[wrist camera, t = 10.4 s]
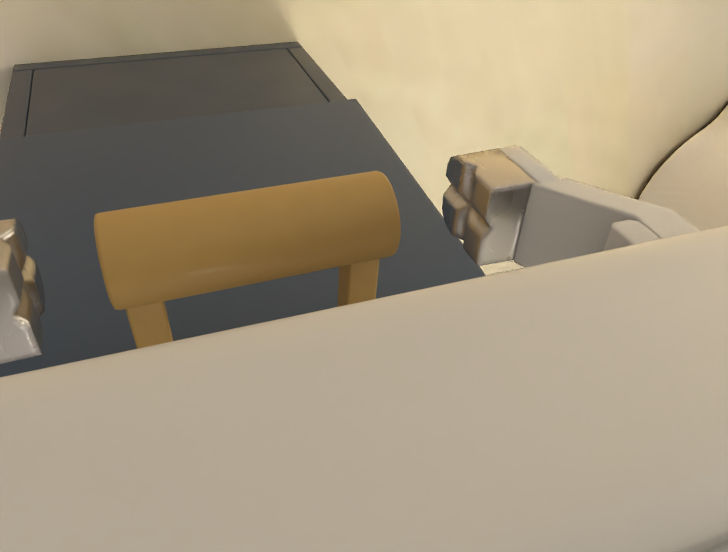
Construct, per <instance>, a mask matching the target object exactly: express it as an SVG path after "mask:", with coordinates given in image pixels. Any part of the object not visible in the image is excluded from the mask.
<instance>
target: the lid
mask: <svg viewBox="0 0 728 552" xmlns="http://www.w3.org/2000/svg"><path fill="white" fill-rule="evenodd" d="M15 218H17V219H18V221H19V222H20V223H21V225H22V227H23V229H24V232H25V234H26V237H27V239H28V243H27V252H26V255H28V256H29V257H31V258H32V259H34V260H36V263H37V265H38V268H39V271H40V274H41V278H42V282H43V286H44V294H45V312H44V313H43V314H42V315H41V316H40V317H39V318H40V320H41V323H42V326H43V328H44V330H43V342H42V355H38V356H33V357H29V358H24V359H20V360H16V361H11V362H7V363H2V364H0V377H5V376H10V375H14V374H19V373H24V372H29V371H33V370H38V369H43V368H48V367H53V366H57V365H62V364H67V363H72V362H76V361H81V360H86V359H91V358H96V357H100V356H105V355H110V354H115V353H120V352H124V351H129V350H134V349H139V348H143V347H148V346H153V345H158V344H163V343H167V342H172V341H177V340H182V339H186V338H191V337H196V336H201V335H206V334H210V333H215V332H220V331H225V330H229V329H234V328H239V327H244V326H249V325H253V324H258V323H263V322H268V321H272V320H277V319H282V318H287V317H292V316H296V315H301V314H306V313H311V312H315V311H320V310H325V309H330V308H335V307H339V306H344V305H349V304H354V303H358V302H363V301H368V300H373V299H378V298H382V297H387V296H392V295H397V294H401V293H406V292H411V291H416V290H420V289H425V288H430V287H435V286H440V285H444V284H449V283H454V282H459V281H463V280H468V279H473V278H478V277H483V276H486V275H485V274H484V272H483V271H482V269H481V268H480V267H479V266H477V265H476V263H475V262H474V261H473V260H472V258H471V257H470V256H469V255H468V254H467V252H466V251H465V250H464V249H463V244H462V242H461V241H460V240H459V238H457V237H455V236H453V235H452V234H451V232H450V231H449V230H448V228H447V226H446V224H445V221H444V218H443V217H442V215H441V214H440V213H439V211H438V210H437V208H436V207H435V206H434V204H433V203H432V202H431V200H430V199H429V198H428V196H427V195H426V194H425V192H424V191H423V189H422V188H421V187H420V185H419V184H418V183H417V181H416V180H415V179H414V177H413V176H412V175H411V173H410V172H409V170H408V169H407V168H406V166H405V165H404V164H403V162H402V161H401V160H400V158H399V157H398V156H397V154H396V153H395V151H394V150H393V149H392V147H391V146H390V145H389V143H388V142H387V141H386V139H385V138H384V137H383V135H382V134H381V132H380V131H379V130H378V128H377V127H376V126H375V124H374V123H373V122H372V120H371V119H370V118H369V116H368V115H367V113H366V112H365V111H364V109H363V108H362V107H361V105H360V104H359V103H358V101H357V100H356V99H350V100H341V101H332V102H323V103H314V104H305V105H297V106H288V107H279V108H270V109H261V110H253V111H244V112H235V113H226V114H217V115H209V116H200V117H191V118H182V119H173V120H165V121H156V122H147V123H138V124H129V125H121V126H112V127H103V128H94V129H85V130H77V131H68V132H59V133H50V134H41V135H32V136H24V137H15V138H6V139H0V220H8V219H15Z"/></svg>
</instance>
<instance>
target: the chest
mask: <svg viewBox="0 0 728 552" xmlns="http://www.w3.org/2000/svg"><path fill="white" fill-rule="evenodd" d="M341 100H347V99H346V98H345V96H344V95H343V94H342V93H341V92H340V91H339V89H338V88H337V87H336V86H335V85H334V84H333V82H332V81H331V80H330V79H329V78H328V77H327V75H326V74H325V73H324V72H323V71H322V70H321V68H320V67H319V66H318V65H317V64H316V63H315V61H314V60H313V59H312V58H311V57H310V55H309V54H308V53H307V52H306V51H305V50H304V48H302V46H301V45H300V44H299V43H298V42H289V43H277V44H265V45H252V46H240V47H228V48H216V49H204V50H191V51H179V52H167V53H155V54H143V55H130V56H118V57H106V58H94V59H82V60H69V61H57V62H45V63H33V64H20V65H14V68H13V73H12V78H11V83H10V88H9V93H8V98H7V103H6V108H5V113H4V118H3V123H2V128H1V133H0V139H6V138H15V137H24V136H32V135H41V134H50V133H59V132H68V131H77V130H85V129H94V128H103V127H112V126H121V125H129V124H138V123H147V122H156V121H165V120H173V119H182V118H191V117H200V116H209V115H217V114H226V113H235V112H244V111H253V110H261V109H270V108H279V107H288V106H297V105H305V104H314V103H323V102H332V101H341Z"/></svg>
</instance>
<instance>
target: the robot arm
mask: <svg viewBox="0 0 728 552" xmlns="http://www.w3.org/2000/svg"><path fill="white" fill-rule="evenodd" d="M446 176H447V178H448V179H449V181H450V183H451V185H450V186H449V188H448V189H447V190H446V192H445V193H444V194H443V205H442V210H443V217H444V221H445V224H446V226H447V228H448V230H449V231H450V232H451V234H452V235H453V236H455V237H457V238H460V239H462V240H464V243H463V249H464V250H465V251H466V252H467V254H468V255H469V256H470V257H471V258H472V260H473V261H474V262H475V263H476V265H477V266H481V265H487V264H492V263H498V262H504V261H509V260H514V262H516V263H518V264H519V265H521V266H523V267H525V268H521V269H516V270H511V271H506V272H502V273H497V274H492V275H487V276H483V277H478V278H473V279H468V280H463V281H459V282H454V283H449V284H444V285H440V286H435V287H430V288H425V289H420V290H416V291H411V292H406V293H401V294H397V295H392V296H387V297H382V298H378V299H373V300H368V301H363V302H358V303H354V304H349V305H344V306H339V307H335V308H330V309H325V310H320V311H315V312H311V313H306V314H301V315H296V316H292V317H287V318H282V319H277V320H272V321H268V322H263V323H258V324H253V325H249V326H244V327H239V328H234V329H229V330H225V331H220V332H215V333H210V334H206V335H201V336H196V337H191V338H186V339H182V340H177V341H172V342H167V343H163V344H158V345H153V346H148V347H143V348H139V349H134V350H129V351H124V352H120V353H115V354H110V355H105V356H100V357H96V358H91V359H86V360H81V361H76V362H72V363H67V364H62V365H57V366H53V367H48V368H43V369H38V370H33V371H29V372H24V373H19V374H14V375H10V376H5V377H0V552H728V105H727V107H726V108H725V109H724V110H723V111H722V112H721V114H720V115H719V116H718V117H717V118H716V119H715V120H714V121H713V122H712V123H710V124H709V125H708V126H707V127H705V128H704V129H702V130H701V131H700V132H698V133H697V134H696V135H694V136H693V137H692V138H690V139H689V140H688V141H686V142H685V143H684V144H683V145H682V146H681V147H679V148H678V149H677V150H676V151H675V152H674V153H673V154H672V155H671V156H670V157H669V158H668V159H667V160H666V161H665V162H664V164H663V165H662V166H661V167H660V168H659V169H658V171H657V172H656V173H655V174H654V176H653V177H652V178H651V180H650V181H649V183H648V184H647V186H646V187H645V189H644V190H643V192H642V194H641V195H640V197H639V199H638V200H637V199H634V198H630V197H627V196H624V195H620V194H617V193H614V192H610V191H607V190H604V189H600V188H597V187H594V186H590V185H587V184H584V183H580V182H577V181H574V180H570V179H567V178H565V179H559V178H558V177H557V176H556V175H554V174H553V173H552V172H551V171H550V170H548V169H547V168H546V167H545V166H544V165H542V164H541V163H540V162H539V161H538V160H536V159H535V158H534V157H533V156H532V155H530V154H529V153H528V152H527V151H526V150H524V149H523V148H522V147H520V146H515V145H514V146H509V147H504V148H499V149H492V150H486V151H481V152H475V153H469V154H463V155H457V156H453V157H451V158H450V161H449V163H448V166H447V172H446ZM27 243H28V239H27V237H26V234H25V232H24V229H23V227H22V225H21V223H20V222H19V221H18V219H17V218H15V219H8V220H0V364H2V363H7V362H11V361H16V360H20V359H24V358H29V357H33V356H38V355H42V342H43V330H44V328H43V326H42V323H41V320H40V318H39V317H40V316H41V315H42V314H43V313H44V312H45V294H44V286H43V282H42V278H41V274H40V271H39V268H38V265H37V263H36V260H34V259H32V258H31V257H29V256H28V255H26V252H27Z"/></svg>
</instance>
